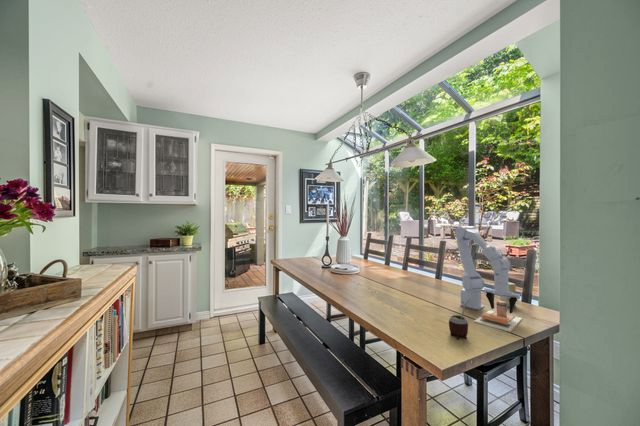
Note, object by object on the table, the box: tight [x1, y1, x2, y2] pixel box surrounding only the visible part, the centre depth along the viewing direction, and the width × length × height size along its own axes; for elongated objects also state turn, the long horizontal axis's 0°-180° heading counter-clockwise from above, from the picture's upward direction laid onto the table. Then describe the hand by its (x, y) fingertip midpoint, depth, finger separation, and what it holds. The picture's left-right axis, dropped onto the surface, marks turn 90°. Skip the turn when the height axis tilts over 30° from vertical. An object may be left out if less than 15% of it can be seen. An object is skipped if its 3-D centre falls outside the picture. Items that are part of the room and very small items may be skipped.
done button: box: [480, 312, 509, 324], centre depth 122 cm, size 10×4×2 cm, turn 41°
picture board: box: [474, 309, 523, 333], centre depth 125 cm, size 14×20×1 cm
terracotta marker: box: [496, 300, 508, 318], centre depth 129 cm, size 4×4×7 cm
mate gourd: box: [448, 300, 469, 340], centre depth 110 cm, size 8×8×15 cm
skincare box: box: [499, 281, 517, 308], centre depth 146 cm, size 6×4×12 cm
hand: (501, 310), depth 129 cm, fingers open, 7 cm apart
